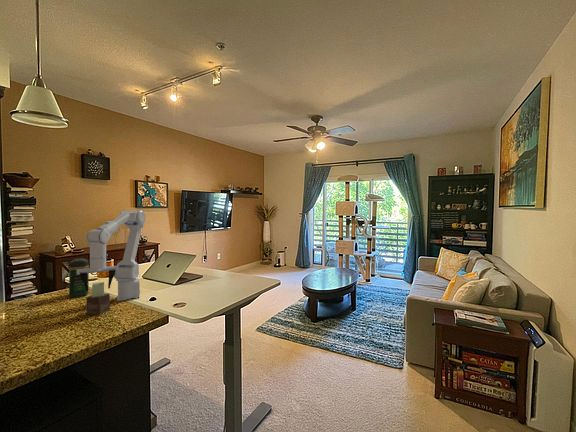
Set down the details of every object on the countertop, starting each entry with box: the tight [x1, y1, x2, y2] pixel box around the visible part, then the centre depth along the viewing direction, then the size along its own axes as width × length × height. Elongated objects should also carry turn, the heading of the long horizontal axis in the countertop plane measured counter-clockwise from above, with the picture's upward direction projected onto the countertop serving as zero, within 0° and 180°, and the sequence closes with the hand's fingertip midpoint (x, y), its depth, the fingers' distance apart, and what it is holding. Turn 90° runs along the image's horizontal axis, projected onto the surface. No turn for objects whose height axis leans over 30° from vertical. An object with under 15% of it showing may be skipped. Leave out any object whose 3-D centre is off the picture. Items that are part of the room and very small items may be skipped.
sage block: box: [91, 281, 105, 297], centre depth 116 cm, size 4×4×5 cm
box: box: [85, 292, 111, 316], centre depth 116 cm, size 6×6×7 cm
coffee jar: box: [68, 257, 90, 298], centre depth 139 cm, size 10×8×19 cm
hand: (98, 289), depth 116 cm, fingers open, 7 cm apart
